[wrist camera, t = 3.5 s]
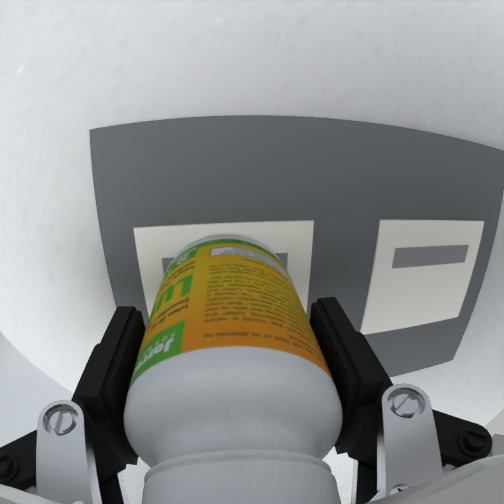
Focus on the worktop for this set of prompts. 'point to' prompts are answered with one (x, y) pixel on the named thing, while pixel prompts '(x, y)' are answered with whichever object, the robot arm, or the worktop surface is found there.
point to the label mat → (311, 216)
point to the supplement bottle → (232, 385)
